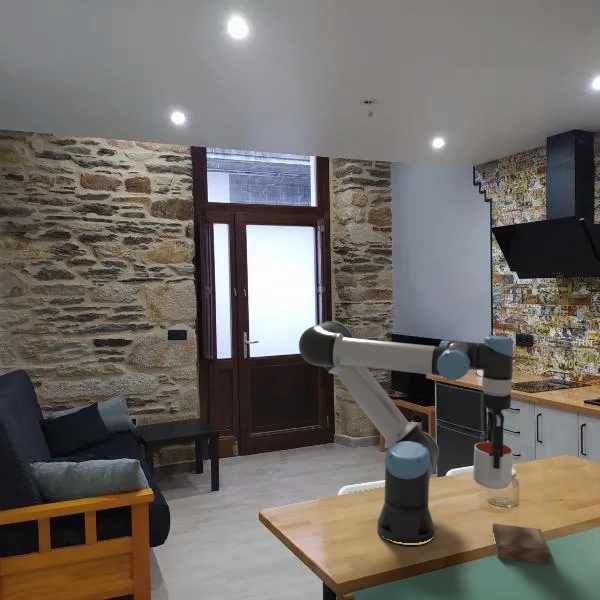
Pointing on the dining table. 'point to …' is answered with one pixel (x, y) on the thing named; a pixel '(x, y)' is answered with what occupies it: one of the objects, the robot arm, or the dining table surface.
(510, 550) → the base
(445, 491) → the dining table surface
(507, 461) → the cup
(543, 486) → the dining table surface
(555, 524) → the dining table surface
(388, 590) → the dining table surface
